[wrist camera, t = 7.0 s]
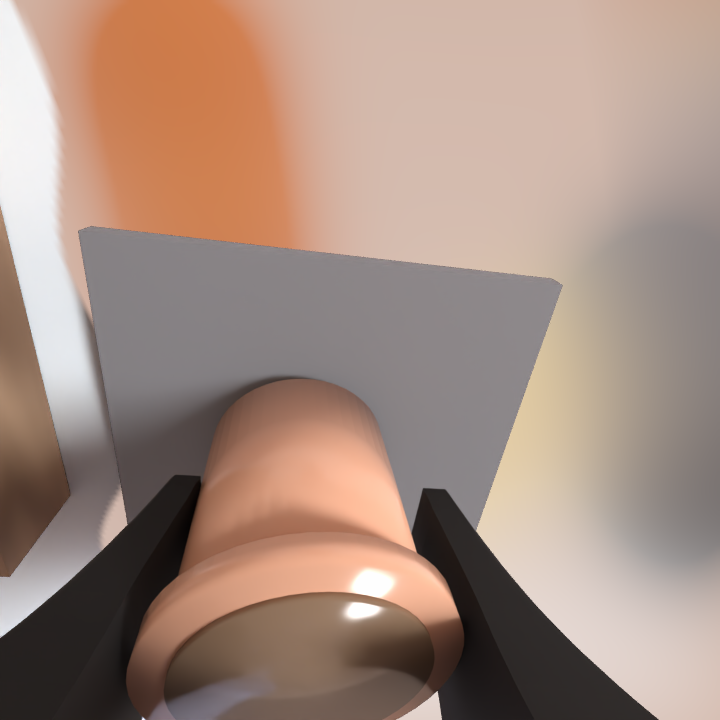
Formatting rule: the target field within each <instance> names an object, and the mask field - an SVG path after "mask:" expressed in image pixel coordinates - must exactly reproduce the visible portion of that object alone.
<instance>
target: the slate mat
mask: <svg viewBox="0 0 720 720" xmlns="http://www.w3.org/2000/svg"><path fill="white" fill-rule="evenodd" d="M78 233H79V239H80V244H81V251H82V256H83V263H84V269H85V274H86V281H87V287H88V292H89V298H90V304H91V310H92V316H93V322H94V328H95V334H96V340H97V346H98V352H99V358H100V364H101V370H102V375H103V381H104V387H105V393H106V399H107V405H108V411H109V417H110V423H111V429H112V435H113V441H114V447H115V453H116V458H117V464H118V470H119V476H120V482H121V488H122V494H123V500H124V505H125V511H126V517H127V524H129V523H130V522H131V521H132V520H133V519H134V518H135V517H136V516H137V515H138V514H139V513H140V511H141V510H142V509H143V508H144V507H145V506H146V505H147V504H148V503H149V502H150V501H151V500H152V499H153V497H154V496H155V495H156V494H157V493H158V492H159V491H160V490H161V489H162V487H163V486H164V485H165V484H166V483H167V482H168V481H169V480H170V478H171V477H173V476H174V475H192V476H201V483H202V480H203V476H204V472H205V468H206V464H207V460H208V456H209V452H210V448H211V444H212V440H213V436H214V433H215V430H216V427H217V425H218V423H219V421H220V419H221V417H222V416H223V415H224V413H225V412H226V411H227V410H228V408H229V407H230V406H232V405H233V404H234V403H235V402H236V401H237V400H238V399H240V398H241V397H242V396H244V395H245V394H247V393H249V392H250V391H252V390H254V389H256V388H259V387H261V386H263V385H266V384H269V383H273V382H276V381H282V380H288V379H314V380H320V381H325V382H329V383H332V384H335V385H338V386H340V387H342V388H345V389H347V390H348V391H350V392H352V393H353V394H355V395H356V396H357V397H359V398H360V399H361V400H362V401H363V402H364V403H365V404H366V405H367V406H368V407H369V408H370V410H371V411H372V413H373V414H374V416H375V418H376V420H377V422H378V425H379V428H380V431H381V435H382V438H383V441H384V445H385V448H386V451H387V455H388V458H389V461H390V465H391V468H392V471H393V475H394V478H395V481H396V485H397V488H398V491H399V495H400V498H401V501H402V505H403V508H404V511H405V515H406V518H407V521H408V525H409V528H410V531H411V533H412V529H413V525H414V521H415V517H416V513H417V510H418V506H419V502H420V498H421V494H422V490H423V488H433V489H446V490H447V492H448V493H449V494H450V496H451V497H452V499H453V500H454V501H455V503H456V504H457V506H458V507H459V508H460V510H461V511H462V513H463V514H464V516H465V517H466V518H467V520H468V521H469V522H470V524H471V525H472V527H473V528H474V529H475V531H476V529H477V526H478V523H479V521H480V518H481V515H482V512H483V509H484V506H485V503H486V501H487V498H488V495H489V492H490V489H491V487H492V483H493V481H494V478H495V475H496V472H497V470H498V467H499V464H500V461H501V458H502V455H503V452H504V450H505V447H506V444H507V441H508V439H509V436H510V433H511V430H512V427H513V424H514V421H515V419H516V416H517V413H518V410H519V407H520V405H521V402H522V399H523V396H524V393H525V390H526V388H527V385H528V381H529V379H530V376H531V373H532V371H533V368H534V365H535V362H536V359H537V356H538V353H539V350H540V348H541V345H542V342H543V339H544V337H545V334H546V331H547V328H548V325H549V323H550V320H551V317H552V314H553V311H554V308H555V306H556V302H557V300H558V297H559V294H560V291H561V289H562V284H560V283H558V282H557V281H555V280H553V279H551V278H542V277H533V276H524V275H515V274H507V273H498V272H488V271H480V270H472V269H462V268H454V267H445V266H436V265H428V264H418V263H410V262H401V261H392V260H383V259H375V258H366V257H357V256H349V255H340V254H331V253H322V252H312V251H305V250H295V249H287V248H278V247H269V246H261V245H252V244H243V243H234V242H226V241H216V240H207V239H198V238H190V237H181V236H173V235H164V234H154V233H146V232H138V231H129V230H120V229H111V228H102V227H94V226H90V227H87V228H85V229H82V230H79V231H78Z"/></svg>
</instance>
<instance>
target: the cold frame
mask: <svg viewBox="0 0 720 720" xmlns="http://www.w3.org/2000/svg"><path fill="white" fill-rule="evenodd" d="M69 496H70V491H69V487H68V483H67V479H66V474H65V470H64V466H63V462H62V458H61V454H60V450H59V446H58V442H57V437H56V433H55V429H54V425H53V421H52V417H51V413H50V409H49V404H48V400H47V396H46V392H45V388H44V384H43V380H42V376H41V372H40V367H39V363H38V359H37V355H36V351H35V347H34V343H33V339H32V335H31V330H30V326H29V322H28V318H27V314H26V310H25V306H24V302H23V298H22V293H21V289H20V285H19V281H18V277H17V273H16V269H15V265H14V261H13V256H12V252H11V248H10V244H9V240H8V236H7V232H6V228H5V224H4V219H3V215H2V211H1V207H0V577H10V576H11V574H12V573H13V572H14V570H15V569H16V568H17V566H18V565H19V564H20V562H21V561H22V560H23V558H24V557H25V556H26V554H27V553H28V552H29V550H30V549H31V548H32V546H33V545H34V543H35V542H36V541H37V539H38V538H39V537H40V535H41V534H42V533H43V531H44V530H45V529H46V527H47V526H48V525H49V523H50V522H51V521H52V519H53V518H54V517H55V515H56V514H57V513H58V511H59V510H60V509H61V507H62V506H63V504H64V503H65V502H66V500H67V499H68V498H69Z"/></svg>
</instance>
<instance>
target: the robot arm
mask: <svg viewBox="0 0 720 720" xmlns="http://www.w3.org/2000/svg"><path fill="white" fill-rule="evenodd" d="M200 487H201V476H192V475H174V476H173V477H171V478H170V480H169V481H168V482H167V483H166V484H165V485H164V486H163V487H162V489H161V490H160V491H159V492H158V493H157V494H156V495H155V496H154V497H153V499H152V500H151V501H150V502H149V503H148V504H147V505H146V506H145V507H144V508H143V509H142V510H141V511H140V513H139V514H138V515H137V516H136V517H135V518H134V519H133V520H132V521H131V522H130V523H129V524H128V525H127V526H126V527H125V528H124V529H123V530H122V531H121V532H120V533H119V534H118V535H117V536H116V537H115V538H114V539H113V540H112V541H111V542H110V543H109V544H108V545H107V546H106V547H105V548H104V549H103V550H102V551H101V552H100V553H99V554H98V555H97V556H96V557H95V558H94V559H93V560H91V561H90V562H89V563H88V564H87V565H86V566H85V567H84V568H83V569H82V570H81V571H80V572H79V573H77V574H76V575H75V576H74V577H73V578H72V579H71V580H70V581H69V582H68V583H67V584H65V585H64V586H63V587H62V588H61V589H60V590H59V591H57V592H56V593H55V594H54V595H53V596H52V597H50V598H49V599H48V600H47V601H46V602H45V603H43V604H42V605H41V606H40V607H39V608H37V609H36V610H35V611H34V612H33V613H31V614H30V615H29V616H28V617H26V618H25V619H24V620H23V621H22V622H20V623H19V624H18V625H17V626H15V627H14V628H13V629H11V630H10V631H9V632H8V633H6V634H5V635H4V636H2V637H1V638H0V720H146V719H144V718H143V717H142V716H141V715H140V713H139V712H138V711H137V710H136V708H135V707H134V706H133V704H132V702H131V699H130V697H129V695H128V691H127V685H126V675H127V668H128V664H129V661H130V658H131V654H132V651H133V648H134V645H135V641H136V638H137V635H138V631H139V628H140V625H141V622H142V619H143V616H144V615H145V613H146V611H147V610H148V608H149V606H150V604H151V603H152V602H153V600H154V599H155V598H156V597H157V596H158V595H159V593H160V592H161V591H162V590H163V589H164V588H165V587H166V586H167V585H169V584H170V583H171V582H172V581H173V580H174V579H175V578H177V577H178V574H179V570H180V566H181V562H182V558H183V554H184V550H185V547H186V543H187V539H188V535H189V531H190V527H191V523H192V519H193V515H194V511H195V507H196V503H197V499H198V495H199V491H200ZM411 535H412V538H413V541H414V545H415V548H416V551H417V554H419V555H421V556H422V557H424V558H425V559H427V560H428V561H429V562H430V563H431V564H432V565H434V566H435V567H436V568H437V569H438V570H439V572H440V573H441V574H442V576H443V577H444V578H445V580H446V582H447V584H448V586H449V588H450V590H451V593H452V596H453V599H454V602H455V605H456V607H457V610H458V613H459V616H460V619H461V622H462V626H463V631H464V647H463V651H462V655H461V658H460V660H459V662H458V664H457V667H456V668H455V670H454V671H453V673H452V674H451V676H450V677H449V679H448V680H447V681H446V682H445V683H444V684H443V685H442V687H441V688H440V689H439V690H438V695H439V701H440V708H441V715H442V720H658V719H657V718H656V717H655V716H654V715H652V714H651V713H650V712H649V711H647V710H646V709H645V708H644V707H643V706H642V705H640V704H639V703H638V702H637V701H636V700H634V699H633V698H632V697H631V696H630V695H629V694H627V693H626V692H625V691H624V690H623V689H622V688H621V687H619V686H618V685H617V684H616V683H615V682H614V681H613V680H612V679H611V678H609V677H608V676H607V675H606V674H605V673H604V672H603V671H601V669H600V668H599V667H597V666H596V665H595V664H594V663H593V662H592V661H591V660H590V659H588V657H587V656H585V655H584V654H583V653H582V652H581V651H580V650H579V649H578V648H577V647H576V646H575V645H574V644H573V643H572V642H571V641H570V640H569V639H568V638H567V637H566V636H565V635H564V634H563V633H562V632H561V631H560V630H559V629H558V628H557V627H556V626H555V625H554V624H553V623H552V622H551V621H550V620H549V619H548V618H547V617H546V616H545V614H544V613H543V612H542V611H541V610H540V609H539V608H538V607H537V606H536V605H535V604H534V603H533V602H532V600H531V599H530V598H529V597H528V596H527V595H526V594H525V592H524V591H523V590H522V589H521V588H520V586H519V585H518V584H517V583H516V582H515V580H514V579H513V578H512V577H511V576H510V575H509V573H508V572H507V571H506V570H505V568H504V567H503V566H502V565H501V564H500V562H499V561H498V560H497V558H496V557H495V556H494V554H493V553H492V552H491V551H490V549H489V548H488V547H487V545H486V544H485V543H484V542H483V540H482V539H481V537H480V536H479V535H478V533H477V532H476V531H475V529H474V528H473V527H472V525H471V524H470V522H469V521H468V520H467V518H466V517H465V516H464V514H463V513H462V511H461V510H460V508H459V507H458V506H457V504H456V503H455V501H454V500H453V499H452V497H451V496H450V494H449V493H448V492H447V490H446V489H433V488H423V490H422V494H421V498H420V502H419V506H418V510H417V513H416V517H415V521H414V525H413V529H412V533H411Z"/></svg>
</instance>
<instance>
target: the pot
mask: <svg viewBox="0 0 720 720" xmlns="http://www.w3.org/2000/svg"><path fill="white" fill-rule="evenodd" d="M463 647H464V631H463V626H462V622H461V619H460V616H459V613H458V610H457V607H456V605H455V602H454V599H453V596H452V593H451V590H450V588H449V586H448V584H447V582H446V580H445V578H444V577H443V576H442V574H441V573H440V572H439V570H438V569H437V568H436V567H435V566H434V565H432V564H431V563H430V562H429V561H428V560H427V559H425V558H424V557H422V556H421V555H419V554H417V551H416V548H415V545H414V541H413V538H412V535H411V531H410V528H409V525H408V521H407V518H406V515H405V511H404V508H403V505H402V501H401V498H400V495H399V491H398V488H397V485H396V481H395V478H394V475H393V471H392V468H391V465H390V461H389V458H388V455H387V451H386V448H385V445H384V441H383V438H382V435H381V431H380V428H379V425H378V422H377V420H376V418H375V416H374V414H373V413H372V411H371V410H370V408H369V407H368V406H367V405H366V404H365V403H364V402H363V401H362V400H361V399H360V398H359V397H357V396H356V395H355V394H353V393H352V392H350V391H348V390H347V389H345V388H342V387H340V386H338V385H335V384H332V383H329V382H325V381H320V380H314V379H288V380H282V381H276V382H273V383H269V384H266V385H263V386H261V387H259V388H256V389H254V390H252V391H250V392H249V393H247V394H245V395H244V396H242V397H241V398H240V399H238V400H237V401H236V402H235V403H234V404H233V405H232V406H230V407H229V408H228V410H227V411H226V412H225V413H224V415H223V416H222V417H221V419H220V421H219V423H218V425H217V427H216V430H215V433H214V436H213V440H212V444H211V448H210V452H209V456H208V460H207V464H206V468H205V472H204V476H203V480H202V483H201V487H200V491H199V495H198V499H197V503H196V507H195V511H194V515H193V519H192V523H191V527H190V531H189V535H188V539H187V543H186V547H185V550H184V554H183V558H182V562H181V566H180V570H179V574H178V577H177V578H175V579H174V580H173V581H172V582H171V583H170V584H169V585H167V586H166V587H165V588H164V589H163V590H162V591H161V592H160V593H159V595H158V596H157V597H156V598H155V599H154V600H153V602H152V603H151V604H150V606H149V608H148V610H147V611H146V613H145V615H144V616H143V619H142V622H141V625H140V628H139V631H138V635H137V638H136V641H135V645H134V648H133V651H132V654H131V658H130V661H129V664H128V668H127V675H126V685H127V691H128V695H129V697H130V699H131V702H132V704H133V706H134V707H135V708H136V710H137V711H138V712H139V713H140V715H141V716H142V717H143V718H144V719H146V720H396V719H398V718H400V717H402V716H403V715H405V714H407V713H408V712H410V711H412V710H413V709H415V708H417V707H418V706H419V705H421V704H422V703H423V702H425V701H426V700H427V699H429V698H430V697H431V696H432V695H433V694H434V693H435V692H437V691H438V690H439V689H440V688H441V687H442V685H443V684H444V683H445V682H446V681H447V680H448V679H449V677H450V676H451V674H452V673H453V671H454V670H455V668H456V667H457V664H458V662H459V660H460V658H461V655H462V651H463Z"/></svg>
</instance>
